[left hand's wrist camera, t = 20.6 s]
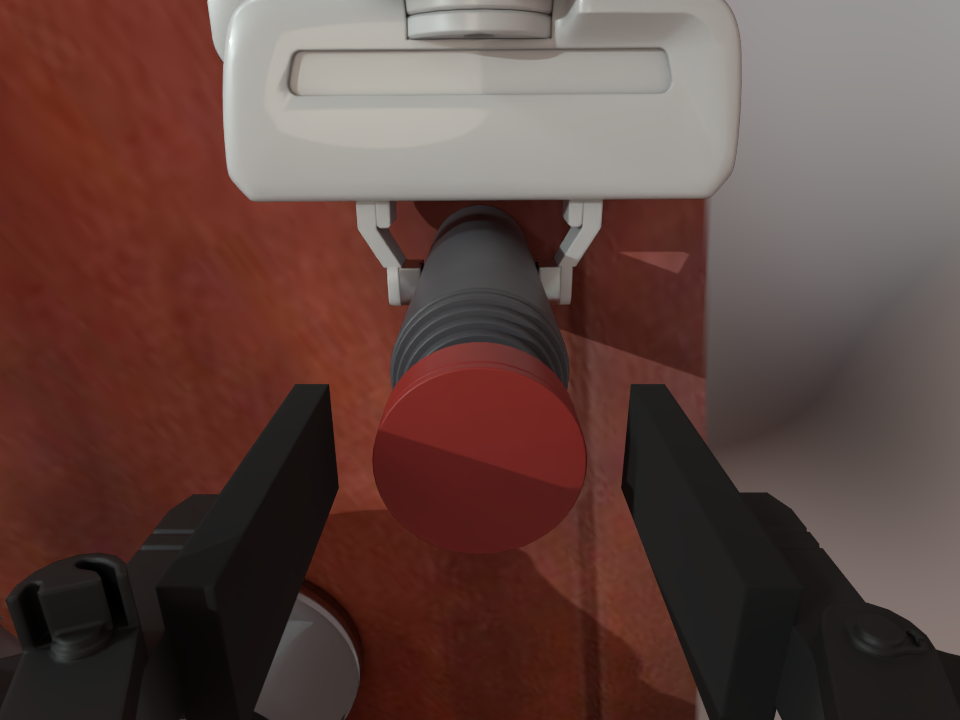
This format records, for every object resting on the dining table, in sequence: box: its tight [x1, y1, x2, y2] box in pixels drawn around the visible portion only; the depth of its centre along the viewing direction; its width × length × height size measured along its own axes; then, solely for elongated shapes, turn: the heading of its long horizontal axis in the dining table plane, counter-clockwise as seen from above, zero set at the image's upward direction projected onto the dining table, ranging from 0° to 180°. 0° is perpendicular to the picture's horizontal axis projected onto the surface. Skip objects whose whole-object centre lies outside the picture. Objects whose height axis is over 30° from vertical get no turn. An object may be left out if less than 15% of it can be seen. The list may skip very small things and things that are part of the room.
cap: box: [372, 342, 587, 554], centre depth 14 cm, size 4×5×2 cm
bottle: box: [390, 205, 569, 390], centre depth 24 cm, size 5×5×22 cm
